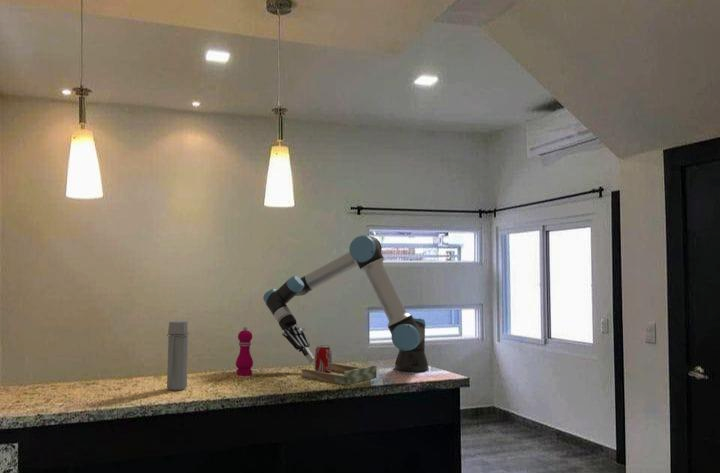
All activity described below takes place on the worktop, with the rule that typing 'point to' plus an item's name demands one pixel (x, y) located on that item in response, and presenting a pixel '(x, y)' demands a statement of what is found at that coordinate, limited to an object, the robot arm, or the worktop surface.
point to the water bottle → (177, 355)
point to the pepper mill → (244, 353)
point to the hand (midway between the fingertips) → (312, 360)
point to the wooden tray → (349, 376)
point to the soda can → (323, 358)
